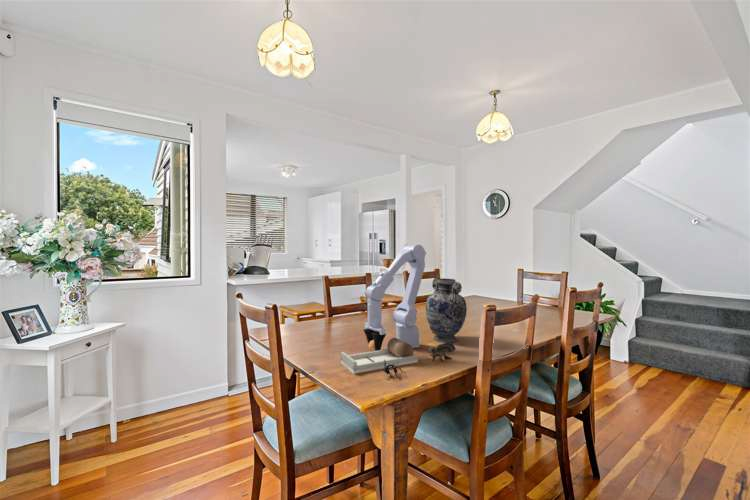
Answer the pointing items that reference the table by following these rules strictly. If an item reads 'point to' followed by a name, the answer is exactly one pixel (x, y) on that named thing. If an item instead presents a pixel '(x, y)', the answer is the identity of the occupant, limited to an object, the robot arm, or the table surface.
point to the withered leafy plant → (441, 350)
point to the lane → (374, 360)
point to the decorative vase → (446, 310)
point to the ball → (371, 346)
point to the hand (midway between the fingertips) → (374, 348)
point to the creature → (393, 369)
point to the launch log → (400, 348)
